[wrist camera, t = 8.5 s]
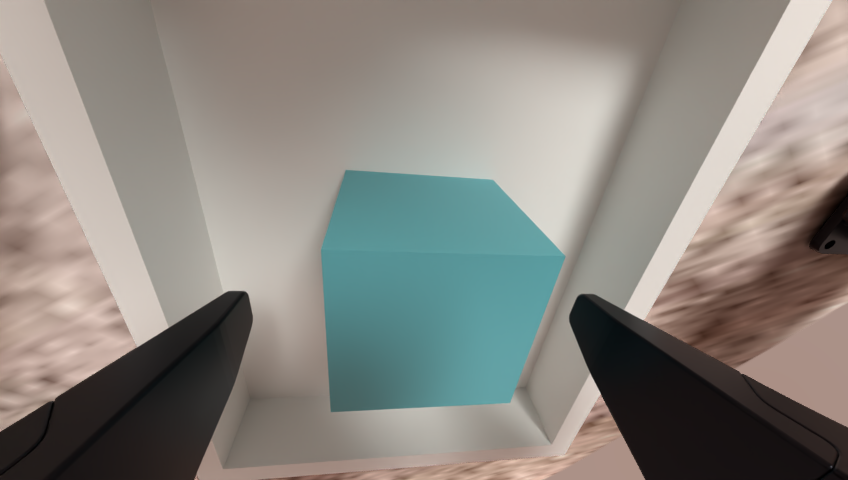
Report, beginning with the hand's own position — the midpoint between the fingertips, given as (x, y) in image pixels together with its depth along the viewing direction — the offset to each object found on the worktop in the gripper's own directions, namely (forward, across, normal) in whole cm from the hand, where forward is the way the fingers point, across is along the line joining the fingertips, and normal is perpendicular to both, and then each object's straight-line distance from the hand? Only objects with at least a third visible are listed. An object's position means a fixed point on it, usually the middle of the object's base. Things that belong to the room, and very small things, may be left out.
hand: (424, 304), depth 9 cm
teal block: (+4, 0, 0) cm, 4 cm away
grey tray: (+5, 0, 0) cm, 5 cm away
